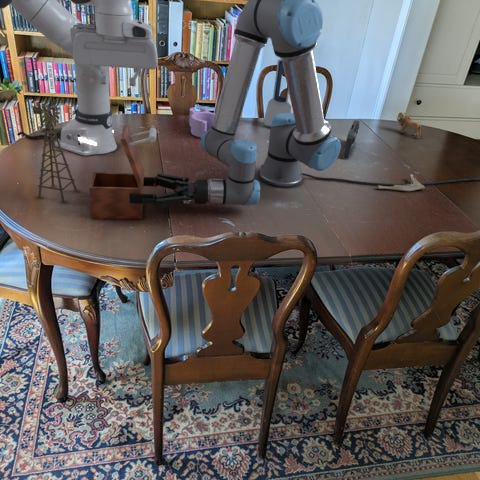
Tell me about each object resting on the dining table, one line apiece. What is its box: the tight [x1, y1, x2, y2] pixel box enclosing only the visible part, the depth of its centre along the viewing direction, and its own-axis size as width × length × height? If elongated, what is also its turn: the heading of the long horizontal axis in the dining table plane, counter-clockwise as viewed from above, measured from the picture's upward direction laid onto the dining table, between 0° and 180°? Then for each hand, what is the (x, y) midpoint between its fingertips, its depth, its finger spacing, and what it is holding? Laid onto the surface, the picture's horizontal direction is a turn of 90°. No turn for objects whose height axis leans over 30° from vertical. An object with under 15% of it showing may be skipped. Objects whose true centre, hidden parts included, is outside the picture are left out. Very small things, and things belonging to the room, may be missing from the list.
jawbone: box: [376, 173, 426, 193], centre depth 169 cm, size 9×20×2 cm, turn 126°
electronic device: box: [263, 58, 293, 128], centre depth 205 cm, size 12×8×30 cm, turn 71°
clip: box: [188, 106, 215, 138], centre depth 199 cm, size 20×12×7 cm, turn 23°
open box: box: [88, 171, 144, 220], centre depth 136 cm, size 14×10×10 cm
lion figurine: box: [396, 111, 424, 139], centre depth 219 cm, size 15×5×9 cm, turn 50°
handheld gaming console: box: [342, 119, 361, 159], centre depth 194 cm, size 23×3×10 cm, turn 161°
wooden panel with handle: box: [120, 124, 157, 187], centre depth 130 cm, size 14×10×9 cm
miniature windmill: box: [31, 95, 78, 203], centre depth 135 cm, size 9×8×30 cm
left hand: (117, 84), depth 119 cm, fingers open, 6 cm apart
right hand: (131, 189), depth 135 cm, fingers closed on open box, 10 cm apart
